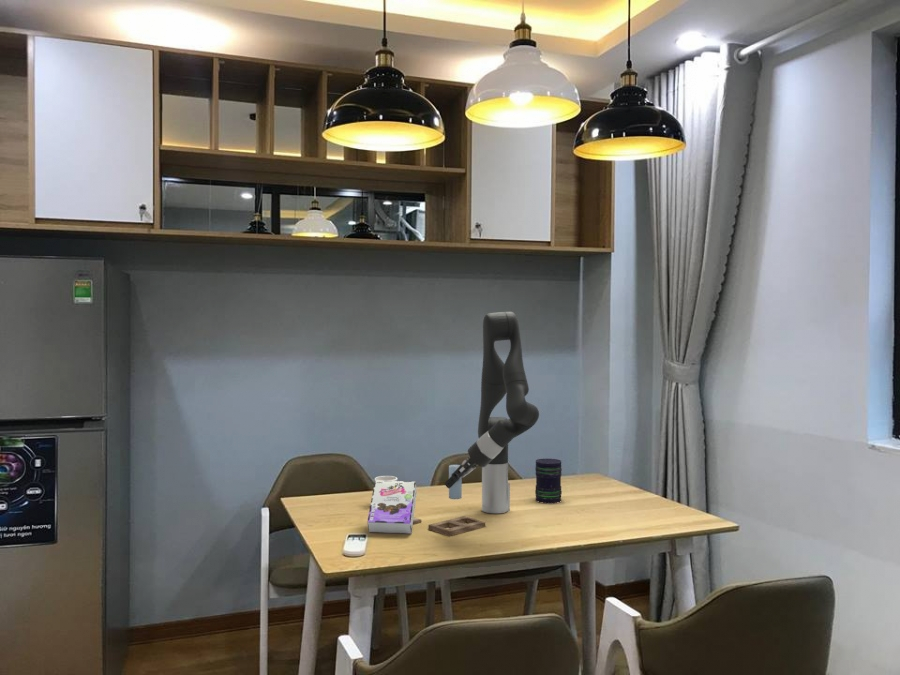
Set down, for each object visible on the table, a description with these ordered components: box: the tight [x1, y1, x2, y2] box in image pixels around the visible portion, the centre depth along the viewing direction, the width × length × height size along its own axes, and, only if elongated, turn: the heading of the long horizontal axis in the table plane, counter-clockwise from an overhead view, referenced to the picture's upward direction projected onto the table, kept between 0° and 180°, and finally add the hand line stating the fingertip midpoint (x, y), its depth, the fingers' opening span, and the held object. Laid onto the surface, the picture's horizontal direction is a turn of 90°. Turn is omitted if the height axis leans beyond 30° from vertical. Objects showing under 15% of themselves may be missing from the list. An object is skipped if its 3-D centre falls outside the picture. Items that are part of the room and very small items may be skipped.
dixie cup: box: [374, 475, 398, 481], centre depth 259 cm, size 8×8×10 cm
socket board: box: [427, 515, 486, 537], centre depth 230 cm, size 16×10×2 cm, turn 133°
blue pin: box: [448, 464, 463, 500], centre depth 223 cm, size 4×4×10 cm
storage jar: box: [534, 458, 563, 504], centre depth 267 cm, size 10×10×15 cm
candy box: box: [366, 479, 418, 535], centre depth 228 cm, size 14×6×16 cm
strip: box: [413, 516, 422, 525], centre depth 235 cm, size 7×4×8 cm, turn 133°
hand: (449, 484), depth 223 cm, fingers closed on blue pin, 4 cm apart
